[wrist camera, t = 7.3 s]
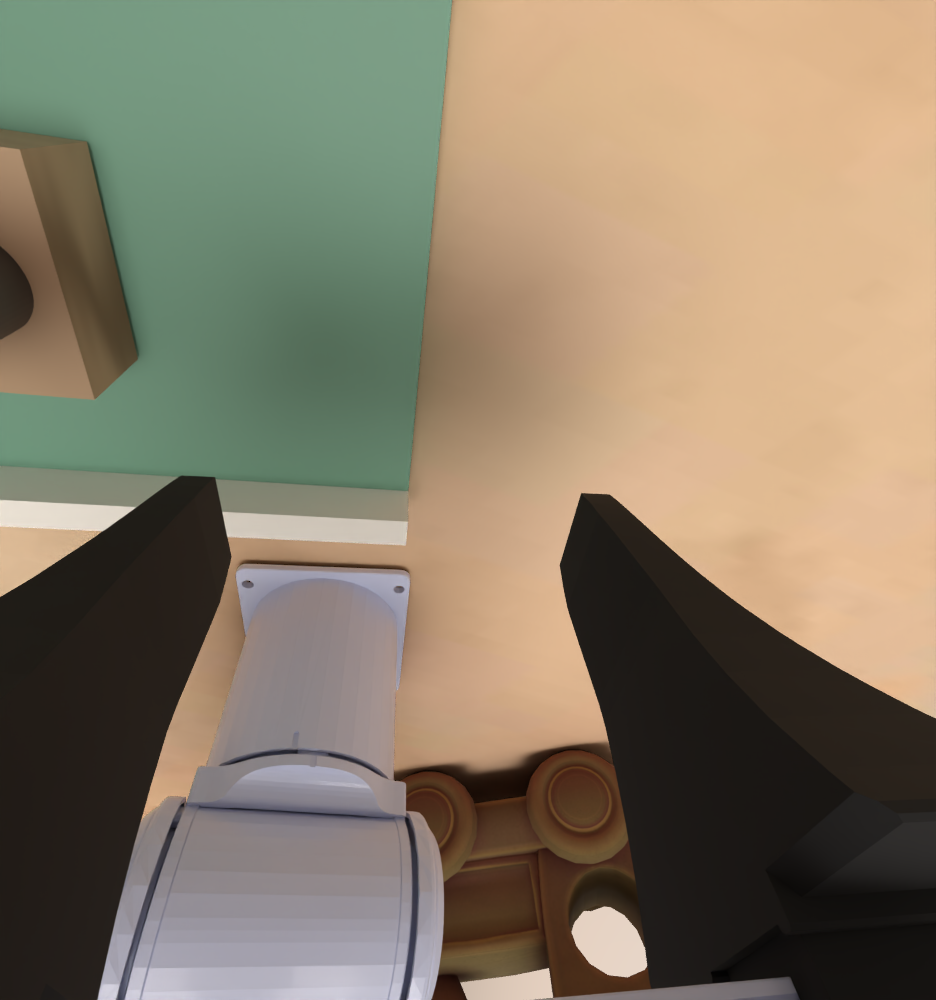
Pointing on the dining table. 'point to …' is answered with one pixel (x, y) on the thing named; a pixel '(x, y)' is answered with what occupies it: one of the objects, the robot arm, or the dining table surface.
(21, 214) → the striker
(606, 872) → the wooden toy train
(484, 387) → the dining table surface
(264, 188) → the pitch
